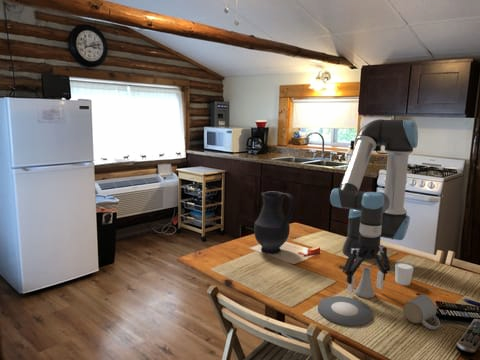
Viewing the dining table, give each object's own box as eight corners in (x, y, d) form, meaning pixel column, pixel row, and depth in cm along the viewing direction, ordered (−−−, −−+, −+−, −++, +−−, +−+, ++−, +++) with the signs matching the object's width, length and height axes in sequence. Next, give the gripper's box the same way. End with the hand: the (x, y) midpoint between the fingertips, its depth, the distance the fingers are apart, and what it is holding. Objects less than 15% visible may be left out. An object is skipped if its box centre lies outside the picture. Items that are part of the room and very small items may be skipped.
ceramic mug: (400, 318, 126) (402, 297, 124) (413, 311, 131) (416, 290, 129) (431, 334, 117) (434, 312, 116) (444, 326, 122) (447, 304, 121)
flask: (376, 299, 138) (378, 274, 136) (355, 297, 140) (357, 272, 138) (373, 290, 145) (375, 266, 143) (353, 288, 147) (355, 264, 145)
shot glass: (411, 280, 155) (412, 264, 154) (412, 287, 149) (414, 270, 147) (393, 277, 157) (394, 261, 156) (394, 284, 151) (395, 268, 150)
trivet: (354, 296, 140) (354, 293, 140) (383, 322, 123) (383, 319, 123) (309, 301, 136) (309, 298, 136) (332, 329, 119) (333, 325, 119)
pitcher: (268, 241, 197) (271, 185, 191) (301, 252, 183) (305, 192, 177) (246, 250, 184) (247, 190, 179) (279, 262, 170) (282, 198, 165)
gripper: (345, 239, 132) (341, 297, 136) (404, 235, 137) (398, 291, 141) (335, 233, 139) (331, 288, 143) (391, 229, 144) (386, 282, 148)
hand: (365, 289), depth 142 cm, fingers open, 11 cm apart
